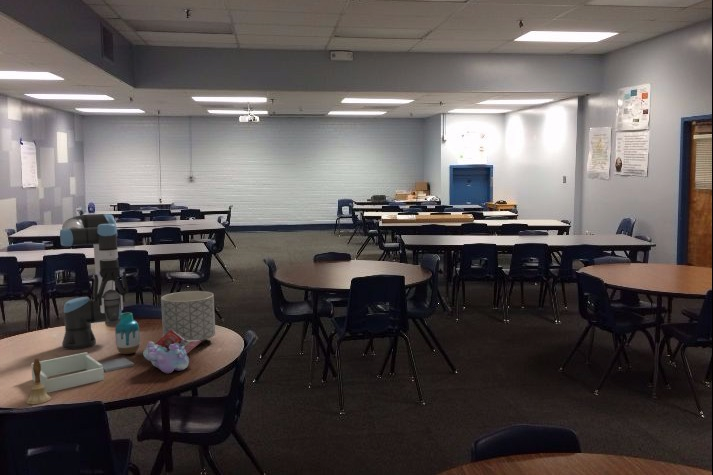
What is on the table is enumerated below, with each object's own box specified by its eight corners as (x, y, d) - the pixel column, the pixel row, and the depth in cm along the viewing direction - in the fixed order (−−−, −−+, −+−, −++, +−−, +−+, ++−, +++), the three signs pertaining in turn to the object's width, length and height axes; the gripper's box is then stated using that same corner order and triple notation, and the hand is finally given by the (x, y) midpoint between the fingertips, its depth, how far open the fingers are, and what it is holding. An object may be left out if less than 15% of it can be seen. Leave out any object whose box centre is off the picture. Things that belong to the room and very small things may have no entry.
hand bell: (44, 394, 231) (41, 354, 229) (55, 399, 226) (52, 358, 224) (22, 401, 224) (18, 360, 222) (33, 406, 219) (30, 364, 218)
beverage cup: (107, 322, 266) (104, 278, 264) (123, 322, 267) (121, 278, 265) (101, 327, 259) (98, 281, 257) (118, 326, 260) (116, 281, 258)
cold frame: (32, 379, 248) (31, 363, 248) (87, 367, 263) (86, 352, 262) (45, 393, 233) (44, 375, 232) (104, 379, 247) (103, 363, 246)
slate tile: (96, 365, 266) (96, 363, 266) (124, 359, 274) (124, 357, 273) (106, 371, 257) (106, 369, 257) (134, 365, 265) (133, 363, 264)
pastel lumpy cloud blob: (135, 367, 247) (157, 330, 247) (141, 350, 268) (161, 316, 268) (180, 387, 253) (201, 351, 253) (182, 369, 274) (202, 335, 274)
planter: (187, 334, 315) (185, 289, 313) (225, 339, 304) (223, 293, 302) (152, 346, 293) (149, 298, 290) (192, 352, 282) (190, 303, 279)
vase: (132, 357, 277) (130, 316, 275) (111, 356, 279) (109, 316, 277) (145, 350, 287) (142, 311, 285) (125, 349, 289) (122, 310, 287)
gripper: (87, 262, 251) (90, 316, 253) (135, 257, 264) (138, 308, 266) (81, 261, 256) (85, 313, 259) (128, 256, 269) (131, 306, 272)
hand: (112, 311), depth 262 cm, fingers closed on beverage cup, 7 cm apart
